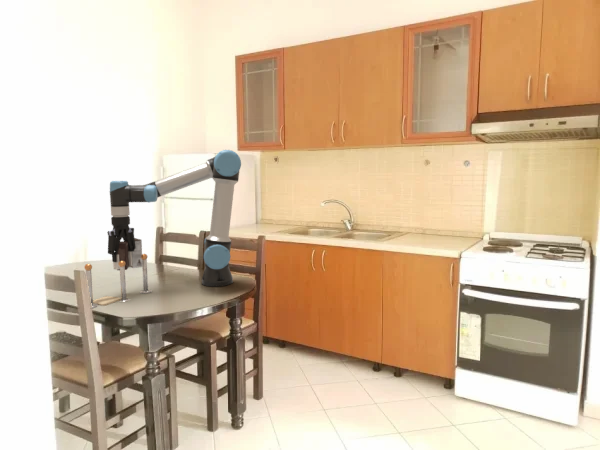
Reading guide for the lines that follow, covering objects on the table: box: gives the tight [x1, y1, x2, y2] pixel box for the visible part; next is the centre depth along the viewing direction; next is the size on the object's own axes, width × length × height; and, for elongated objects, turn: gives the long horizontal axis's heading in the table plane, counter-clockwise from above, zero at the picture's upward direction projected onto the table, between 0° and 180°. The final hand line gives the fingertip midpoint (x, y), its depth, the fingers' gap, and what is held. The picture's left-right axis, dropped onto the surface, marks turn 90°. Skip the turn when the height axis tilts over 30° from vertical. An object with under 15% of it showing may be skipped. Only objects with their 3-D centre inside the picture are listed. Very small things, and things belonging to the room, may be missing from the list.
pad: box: [93, 295, 121, 307], centre depth 185 cm, size 9×10×1 cm
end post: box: [84, 263, 98, 309], centre depth 177 cm, size 5×5×18 cm
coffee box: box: [128, 237, 143, 269], centre depth 257 cm, size 9×6×16 cm
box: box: [118, 240, 130, 271], centre depth 193 cm, size 6×4×12 cm
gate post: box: [139, 253, 153, 294], centre depth 199 cm, size 5×5×18 cm
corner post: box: [117, 261, 131, 303], centre depth 186 cm, size 5×5×18 cm
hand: (123, 267), depth 194 cm, fingers closed on box, 7 cm apart
